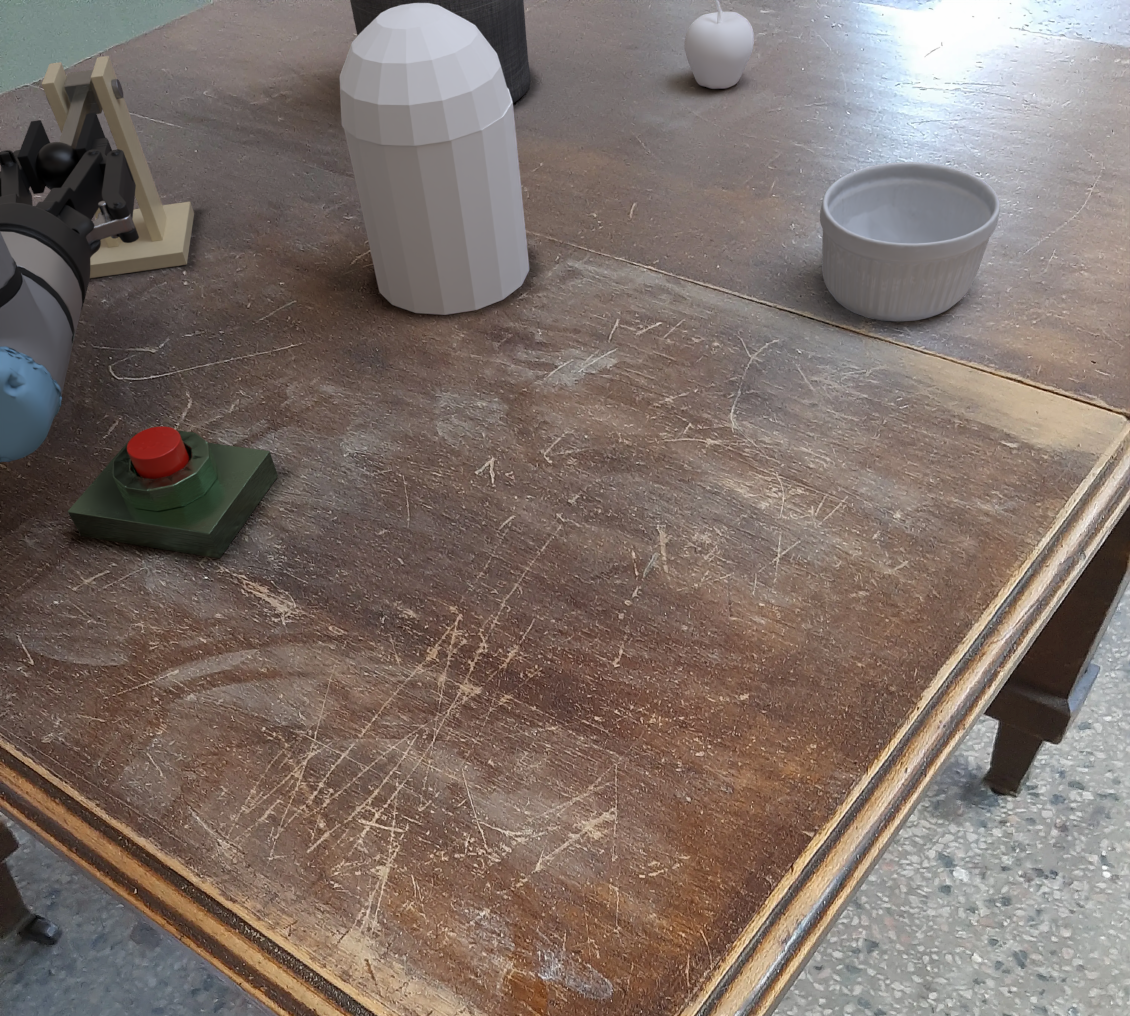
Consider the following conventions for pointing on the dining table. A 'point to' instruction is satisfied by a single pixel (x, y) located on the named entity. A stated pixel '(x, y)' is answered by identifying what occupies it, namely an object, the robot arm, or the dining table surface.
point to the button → (157, 452)
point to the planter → (496, 15)
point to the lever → (68, 131)
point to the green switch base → (177, 499)
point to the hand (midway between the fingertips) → (70, 135)
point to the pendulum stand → (155, 223)
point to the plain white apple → (719, 48)
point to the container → (434, 161)
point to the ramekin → (905, 238)
